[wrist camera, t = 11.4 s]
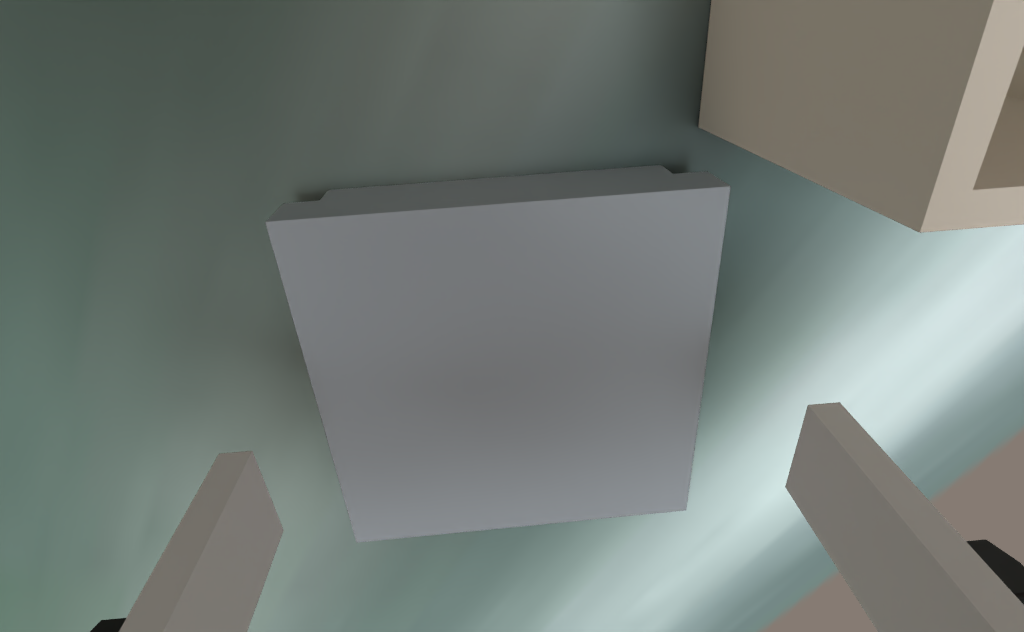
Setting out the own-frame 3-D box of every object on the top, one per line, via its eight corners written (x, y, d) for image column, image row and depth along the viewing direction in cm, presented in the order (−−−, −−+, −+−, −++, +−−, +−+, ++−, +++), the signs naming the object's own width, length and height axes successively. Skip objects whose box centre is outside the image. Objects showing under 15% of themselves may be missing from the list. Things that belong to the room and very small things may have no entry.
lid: (295, 191, 16) (264, 221, 14) (691, 161, 17) (730, 186, 14) (368, 484, 22) (356, 542, 20) (662, 456, 23) (686, 510, 20)
